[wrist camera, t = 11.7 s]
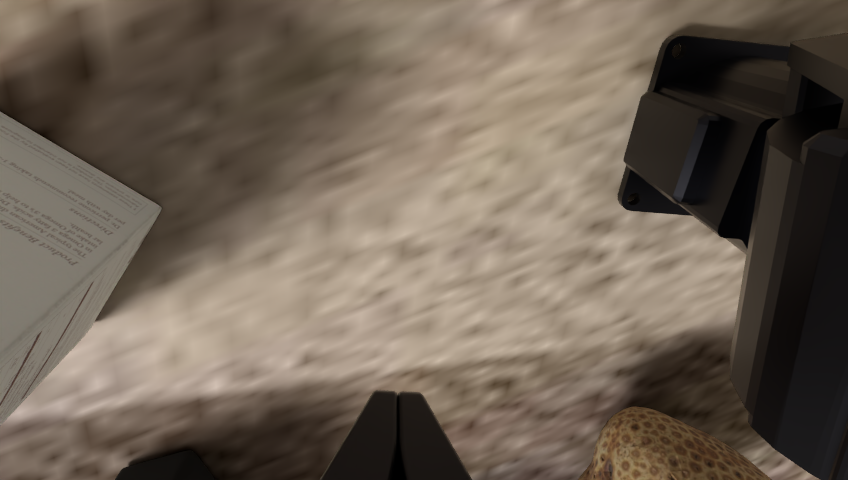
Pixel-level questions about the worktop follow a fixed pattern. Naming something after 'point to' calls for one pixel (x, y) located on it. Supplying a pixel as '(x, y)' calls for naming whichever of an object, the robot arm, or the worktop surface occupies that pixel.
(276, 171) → the worktop surface
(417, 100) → the worktop surface
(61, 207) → the supplement box
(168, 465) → the battery
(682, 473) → the tan rounded lump
